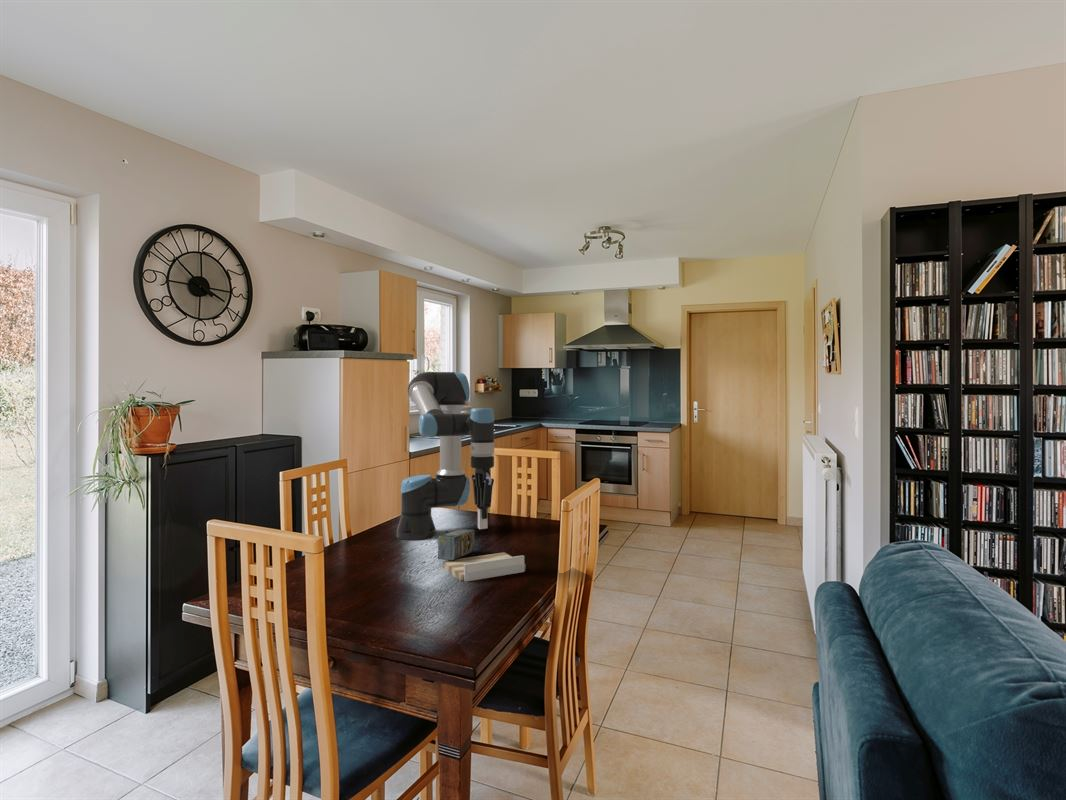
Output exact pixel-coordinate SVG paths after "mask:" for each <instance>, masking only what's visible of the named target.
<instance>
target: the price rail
mask: <svg viewBox="0 0 1066 800" xmlns="http://www.w3.org/2000/svg"><path fill="white" fill-rule="evenodd" d="M524 564H525V555H516V556H515V555H514V556H512V557H508V558H501V559H495V560H488V561H481V562H475V563H468V564H464V583H465V582H470V581H478V580H484V579H489V578H495V577H502V576H506V575H507V576H508V575H513V574H519V573H524V572H525V571H524Z"/></svg>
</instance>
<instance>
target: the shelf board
mask: <svg viewBox="0 0 1066 800" xmlns="http://www.w3.org/2000/svg"><path fill="white" fill-rule="evenodd" d="M508 557H513V556H512V555H510V554H509V553H506V552H497V553H491V554H483V555H482V554H481V555H478V556H470V557H469V556H468V557H463V558H457V559H454V560H442V565H443V566H442V568H444V569H445V570H446V571H447V572H449V574H451V575H452V576H453V577H454V578H455V579H457V580H458V581H460V582H463V581H464V564H468V563H475V562H481V561H488V560H495V559H501V558H508ZM526 566H527V565H526V563H524V572H525V571H526V570H527V568H526ZM464 582H465V581H464Z"/></svg>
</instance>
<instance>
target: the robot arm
mask: <svg viewBox="0 0 1066 800" xmlns="http://www.w3.org/2000/svg"><path fill="white" fill-rule="evenodd" d="M470 388H471V387H470V383H469V380H468V378H467V376H466V374H465V373H463V372H456V371H426V372H424V371H423V372H422V373H419V374H417V375H416V376H414V377H413V378H412V379H411V380H410V382H409V384H408V386H407V395H408V397H409V399H410V401H411V403H413V404H415V407H416V409H417V411H418V413H419V415H420V416H419V418H418V431H419V432H418V433H419V434H420V436H421V437H429V438H434V437H435V438H436V437H439V470H438V471H437V472H436V473H435V477H432V475H430V474H419V475H414V476H409V477H406V478H404V479H403V480H402V481H401V483H400V484H401V485H400V494H401V495H400V499H401V501H400V508H401V509H400V518H399V521H398V522H399V523H398V526H397V529H396V538H397V539H400V540H406V541H418V540H425V539H426V540H427V539H430V538H433V537H434V536H436V534H437V531H436V529H437V528H436V526H435V523H434V519H433V516H432V509H436V508H447V507H449V508H450V507H454V508H456V507H458V506H459V507H461V506H464V505H465V504H466V503H467V501H468V499H469V496H470V490H471V488H470V487H471V483H470V478H469V477H468V476H466V471H464V470H463V469H462V437H470V445H469V449H470V455H471V457H470V468H472V469H475V470H474V474H472V475H471V479H472V486H473V487H472V488H473V498H474V499H473V501H474V505H476V508H477V529H479V530H485V529H488V528H489V527H488V525H489V524H488V522H489V521H488V517H489V516H488V509H489V508H491V506H492V497H493V487H494V483H495V480H494V479H495V478H491V471H490V469H493V468H494V467H495V457H494V456H493V455H494V454H495V414H494V413H495V412H494V409H493V408H491V407H489V408H488V407H473V408H471V410H470V412H469V413H462V410H463V408H464V407H465V406H466V402H468V401H469V400H470V395H471V389H470Z"/></svg>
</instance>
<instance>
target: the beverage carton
mask: <svg viewBox="0 0 1066 800" xmlns="http://www.w3.org/2000/svg"><path fill="white" fill-rule="evenodd" d="M475 532H476V531H475V529H466V528H465V529H464V528H463V529H462V528H461V529H456V530H453V531H451V532H447V533H444V534H442V535H439V536H438V539H437V545H438V546H437V560H442V561H448V560H455V559H460V558H461V557H464V556H466V555H469V554H470V553H472V552H474V551H475V537H476V536H475V534H476V533H475Z"/></svg>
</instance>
